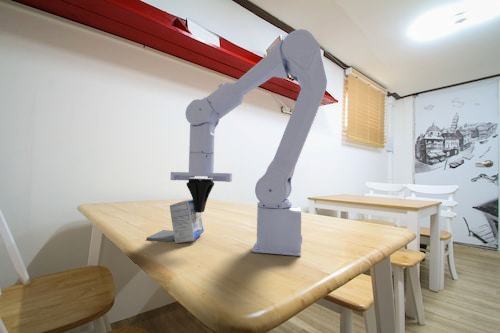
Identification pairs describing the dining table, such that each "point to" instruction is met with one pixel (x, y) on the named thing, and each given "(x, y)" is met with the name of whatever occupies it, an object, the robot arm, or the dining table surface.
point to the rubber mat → (163, 236)
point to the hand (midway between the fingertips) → (200, 211)
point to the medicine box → (186, 221)
